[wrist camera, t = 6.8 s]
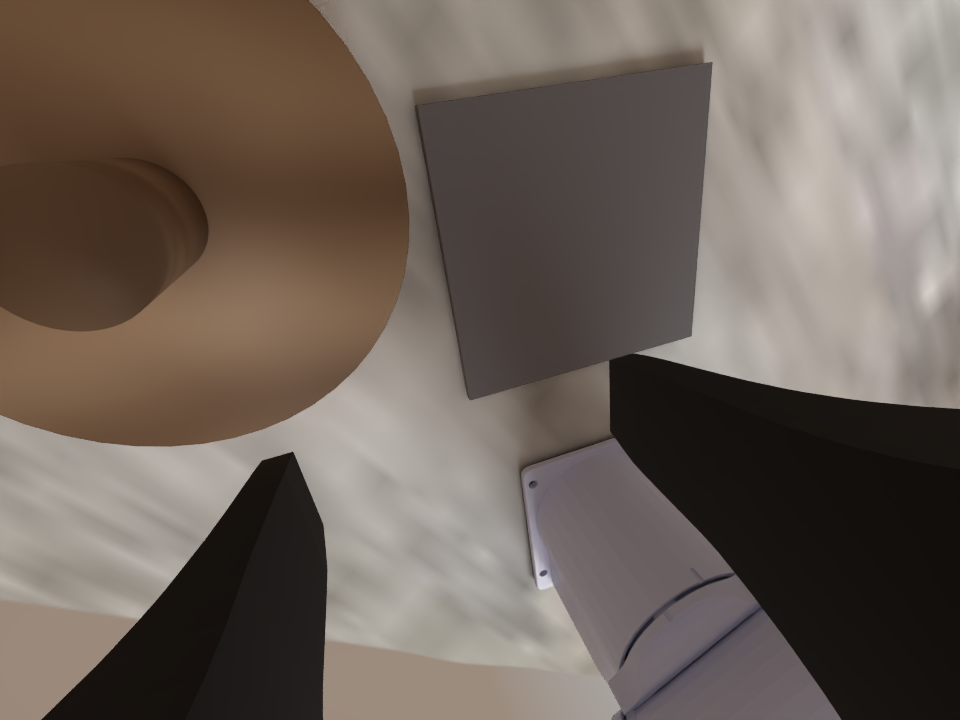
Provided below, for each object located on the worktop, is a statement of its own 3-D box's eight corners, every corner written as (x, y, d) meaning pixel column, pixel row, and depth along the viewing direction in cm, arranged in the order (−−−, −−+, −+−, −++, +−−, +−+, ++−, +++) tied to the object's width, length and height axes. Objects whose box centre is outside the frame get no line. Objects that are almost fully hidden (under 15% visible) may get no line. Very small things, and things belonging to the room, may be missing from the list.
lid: (450, 348, 16) (497, 421, 12) (52, 488, 14) (-70, 640, 10) (301, -165, 10) (283, -403, 6) (-447, -57, 8) (-1380, -305, 4)
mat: (686, 333, 24) (691, 336, 24) (467, 396, 21) (470, 400, 21) (704, 63, 18) (712, 62, 18) (415, 106, 16) (417, 105, 16)
